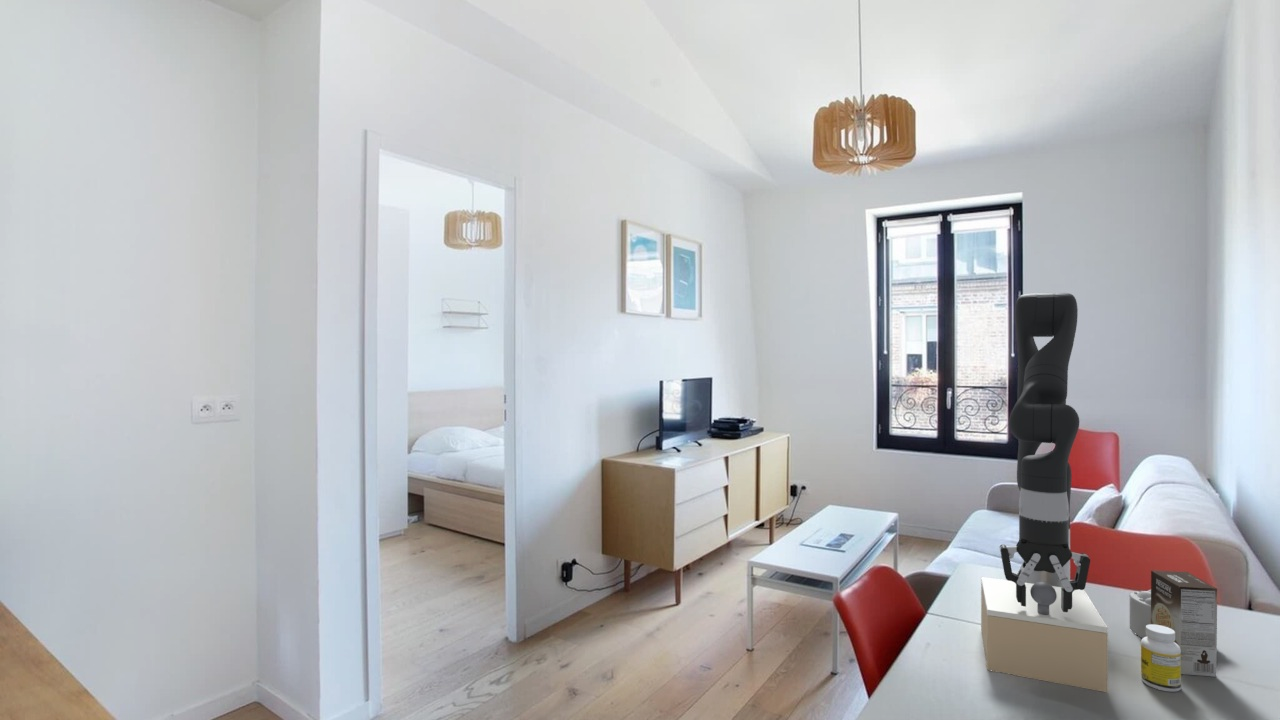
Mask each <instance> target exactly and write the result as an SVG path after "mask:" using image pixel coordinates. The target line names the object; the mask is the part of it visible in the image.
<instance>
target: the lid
mask: <svg viewBox="0 0 1280 720" xmlns="http://www.w3.org/2000/svg"><path fill="white" fill-rule="evenodd" d="M980 582H981V583H982V588H983V594H984V599H985V605H986V610H987V615H990V616H997V617H1003V618H1010V619H1016V620H1023V621H1030V622H1036V623H1043V624H1050V625H1056V626H1063V627H1069V628H1076V629H1083V630H1089V631H1096V632H1103V633H1107V634H1109V633H1108V626H1107V624H1106V623H1105V621H1104V619H1103V618H1102V616H1101V615H1100V613H1099V611H1098V610H1097V608H1096V606H1095V605H1094V603H1093V601H1092V600H1091V598H1090V597H1089V595H1088V594H1087V592H1086V590H1085V589H1083V590H1080V589H1078V590H1074V591H1073V592H1072V608H1071V609H1068V612H1063V611H1062V609H1061V588H1063V587H1055V586H1051V585H1050V584H1048V583H1045V582H1037V583H1035V584H1032V583H1025V586H1026V607H1025V606H1021V603H1020V602H1018V601H1017V598H1016V583H1014V582H1012V581H1008V580H1007V579H1001V578H994V577H993V578H992V577H983V576H981V579H980ZM981 583H980V584H981Z"/></svg>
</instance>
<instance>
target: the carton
mask: <svg viewBox="0 0 1280 720" xmlns="http://www.w3.org/2000/svg"><path fill="white" fill-rule="evenodd" d="M980 586H981V587H980V588H981V589H980V591H981V592H980V595H981V596H980V601H981V602H980V604H981V607H980V609H981V610H980V615H981V616H980V617H981V618H980V619H981V620H980V622H981V623H980V627H981V628H980V629H981V636H982V637H981V638H982V644H983V650H984V655H985V656H984V657H985V662H986V664H985V665H986V669H987V671H989V670H992V671H991V672H994V671H997V672H996V673H1000V672H1004V673H1003V674H1005V673H1009V674H1008V675H1010V674H1013V675H1012V676H1016V675H1017V677H1020V678H1021V677H1023V678H1028V679H1032V680H1033V679H1034V680H1039V681H1043V682H1044V681H1045V682H1050V683H1055V684H1060V685H1065V686H1071V687H1077V688H1082V689H1089V690H1094V691H1098V692H1104V693H1108V646H1109V645H1108V643H1109V642H1108V639H1109V638H1108V634H1109V633H1103V632H1096V631H1089V630H1083V629H1076V628H1069V627H1063V626H1056V625H1050V624H1043V623H1036V622H1030V621H1023V620H1016V619H1010V618H1003V617H997V616H990V615H987V610H986V605H985V599H984V594H983V588H982V583H980Z"/></svg>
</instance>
